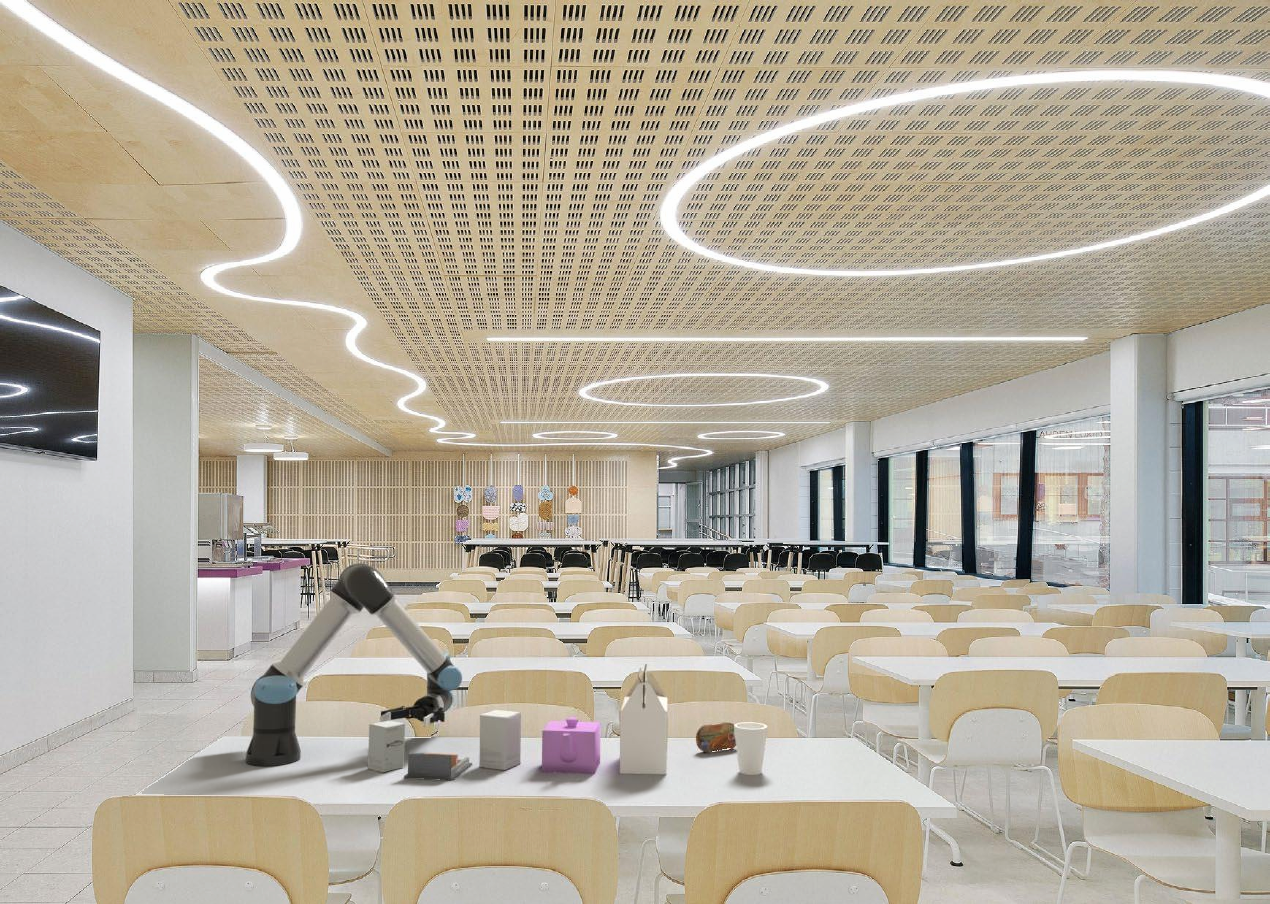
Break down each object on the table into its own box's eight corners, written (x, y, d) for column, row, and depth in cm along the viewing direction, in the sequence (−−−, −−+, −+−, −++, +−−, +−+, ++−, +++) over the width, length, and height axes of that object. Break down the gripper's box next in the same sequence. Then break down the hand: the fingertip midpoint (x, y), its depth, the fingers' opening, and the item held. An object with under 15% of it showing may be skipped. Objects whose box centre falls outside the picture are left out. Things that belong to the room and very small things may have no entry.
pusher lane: (404, 778, 268) (404, 753, 269) (426, 762, 285) (426, 739, 286) (453, 780, 266) (453, 755, 267) (472, 764, 283) (472, 741, 283)
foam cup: (745, 777, 272) (745, 730, 273) (727, 770, 280) (727, 724, 281) (773, 774, 276) (773, 727, 277) (755, 766, 285) (755, 721, 285)
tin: (699, 754, 298) (700, 726, 299) (694, 752, 301) (694, 724, 302) (739, 749, 306) (739, 721, 307) (733, 747, 309) (733, 720, 309)
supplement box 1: (383, 773, 273) (384, 727, 274) (367, 768, 278) (368, 723, 279) (404, 767, 279) (405, 723, 280) (388, 763, 284) (389, 719, 284)
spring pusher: (424, 767, 277) (424, 753, 277) (425, 766, 278) (426, 752, 279) (456, 768, 276) (456, 755, 276) (457, 767, 277) (457, 754, 277)
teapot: (537, 779, 269) (538, 727, 270) (551, 757, 294) (552, 709, 295) (591, 780, 268) (592, 729, 269) (601, 758, 293) (602, 711, 294)
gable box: (623, 754, 297) (624, 661, 299) (667, 755, 297) (668, 662, 298) (619, 774, 275) (620, 673, 277) (666, 775, 274) (667, 674, 276)
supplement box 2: (521, 763, 285) (522, 711, 286) (505, 770, 277) (505, 717, 278) (495, 760, 289) (496, 708, 290) (478, 767, 281) (479, 714, 282)
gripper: (465, 720, 309) (443, 735, 288) (390, 718, 312) (362, 733, 291) (465, 696, 309) (443, 710, 288) (390, 694, 313) (363, 707, 292)
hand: (402, 721), depth 290 cm, fingers open, 13 cm apart
